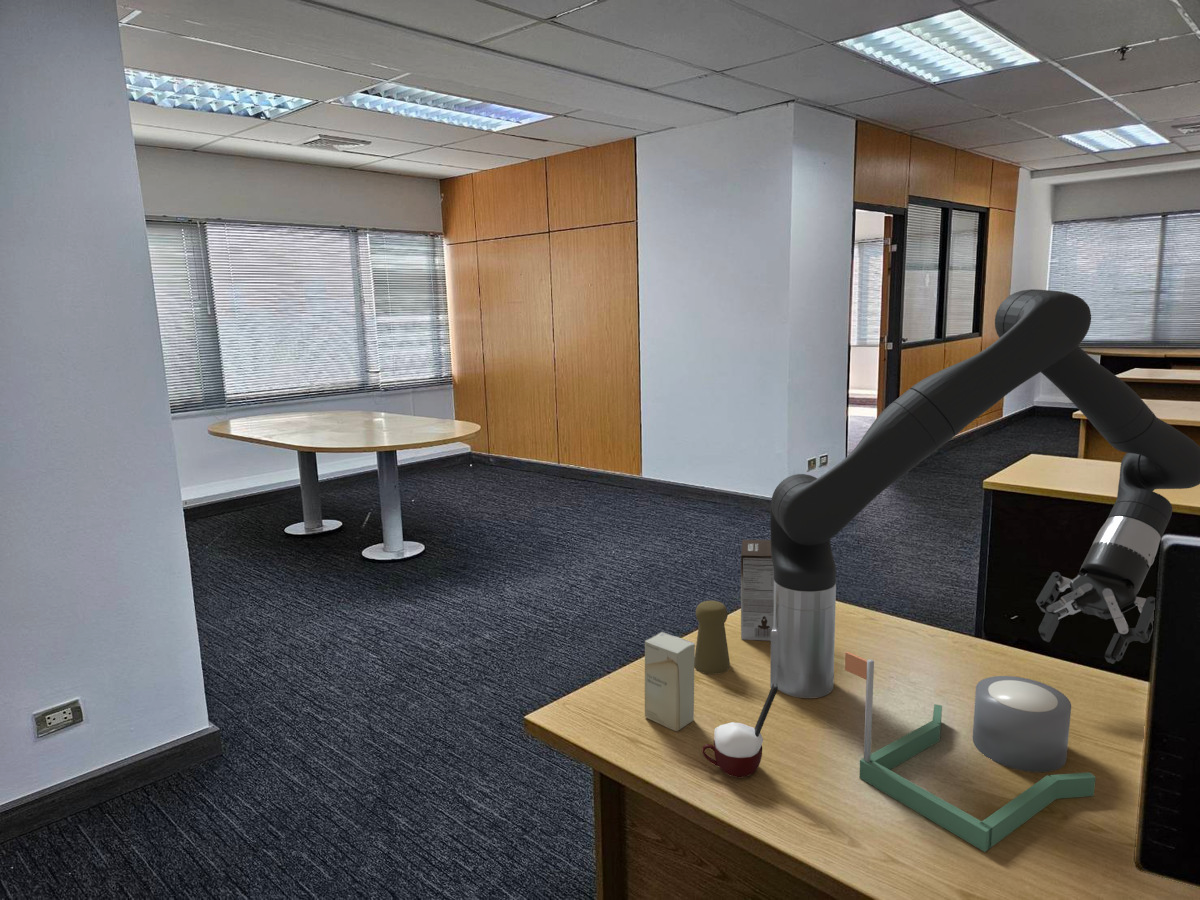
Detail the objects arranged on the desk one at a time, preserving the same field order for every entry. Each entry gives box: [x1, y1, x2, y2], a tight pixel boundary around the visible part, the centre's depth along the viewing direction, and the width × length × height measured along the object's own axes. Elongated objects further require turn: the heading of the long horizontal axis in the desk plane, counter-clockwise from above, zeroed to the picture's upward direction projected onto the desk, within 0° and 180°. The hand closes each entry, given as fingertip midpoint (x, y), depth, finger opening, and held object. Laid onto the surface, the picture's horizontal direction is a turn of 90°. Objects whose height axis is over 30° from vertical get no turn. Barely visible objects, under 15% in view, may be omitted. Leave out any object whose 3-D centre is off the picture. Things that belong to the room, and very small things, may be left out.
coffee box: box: [740, 539, 774, 642], centre depth 139 cm, size 9×6×16 cm
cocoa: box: [701, 682, 779, 779], centre depth 98 cm, size 10×6×12 cm, turn 61°
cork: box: [694, 600, 731, 675], centre depth 126 cm, size 6×6×11 cm
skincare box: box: [644, 631, 696, 732], centre depth 111 cm, size 6×4×12 cm
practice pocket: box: [844, 651, 1096, 853], centre depth 94 cm, size 20×22×16 cm
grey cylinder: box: [972, 675, 1072, 773], centre depth 101 cm, size 11×11×8 cm
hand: (1075, 649), depth 108 cm, fingers open, 8 cm apart
